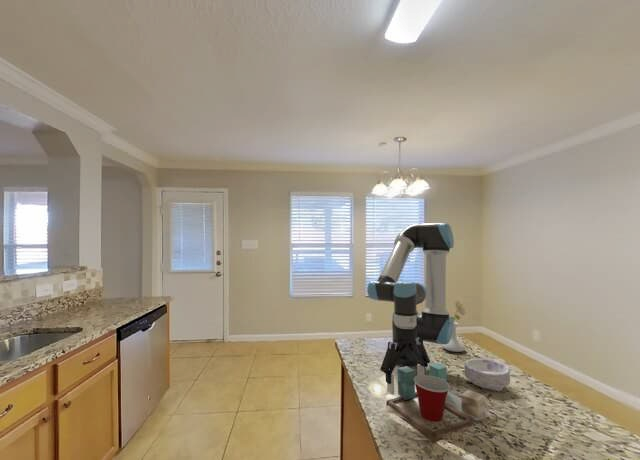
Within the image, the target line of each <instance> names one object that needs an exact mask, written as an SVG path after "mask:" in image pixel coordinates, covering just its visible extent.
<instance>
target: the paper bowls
mask: <svg viewBox="0 0 640 460" xmlns="http://www.w3.org/2000/svg"><path fill="white" fill-rule="evenodd" d="M510 373H511V371H510V368H509V367H508V366H506V364H503V363H501V362H499V361H496V360H491V359H487V358H470V359H467V360H465V362H464V375H465V377H466V379H467V380H469V381H470V382H471V383H472V384H474V385H476V386H477V387H479V388H483V389H487V390H491V391H492V390H493V391H495V392H501V391H502V390H504V388H505V387H508V386H509V385H510V384H511V375H510Z"/></svg>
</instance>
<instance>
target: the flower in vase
mask: <svg viewBox="0 0 640 460" xmlns="http://www.w3.org/2000/svg"><path fill="white" fill-rule="evenodd" d="M454 304H455V308H456V311H455V314H454V317H453V316H450V318H452V319H453V323H454V325H453V333H452V337H451V340H450V342H449V343H448V344H446V345H444V344H441V347H442V348H443V349H445V350H446V351H448V352H453V353H455V352H456V353H459V352H465V350H466V346H465V344H464V343H463V342H462V341H460V339H458V337H457V331H456V329H457V326H458V325H459V322H456V321H455V320H461V317H460V315H461V316H465V314H466V309H465V307H464V306H463V303H461V302H460V301H459V300H456V301H455V302H454ZM457 312H458V313H459V314H460V315H458V314H457Z"/></svg>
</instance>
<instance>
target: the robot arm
mask: <svg viewBox="0 0 640 460" xmlns="http://www.w3.org/2000/svg"><path fill="white" fill-rule="evenodd" d="M454 239H455V238H454V234H453V230H452V227H451V225H450V224H448V223H447V222H431V223H430V222H429V223H428V222H427V223H414V224H411V225H409V226H407V227H405V228H404V229H402V231H400V232H399V233H398V234H397V236H396V238H395V240H394V243H393V244H394V246H393V249H392V251H391V252H390V254H389V256H388V259H387V260H386V263H385V265H384V267H383V269H382V271H381V273H380V275H379V277H378V279H377V280H371V281H369V283H368V285H367V289H366V291H367V295H368V298H369V299H371V300H374V301H379V302H380V301H383V302H391V303H392V302H393V303H394V305H393V306H394V307H393V309H394V310H393V313H392V319H391V321H392V324H391V325H392V327H391V328H392V342H391V341H388V342H387V349H386V352H385V355H384V357H383V360H382V363H381V366H380V371H381V372H382V373H384V374H385V383H386V386H387V387H386V390H387V392H388V393H389V394H391V395H395V374H394V373H393V372H394V370H395V368H396V367H397V365H399V366H404V367H405V366H407V367H414V366H416V367H417V368H416V369H417V372H416V373H417V375H416V376H418V375H426V368H427V367H428V366H429V364H430V363H431V360H430V357H429V355H428V352H427V349H426V348H425V346H424V342H428V343H433V344H436V345H442V344H444V345H446V344H448V343H449V342H450V340H451V337H452V333H453V325H454V323H453V319H452V318H451V317H450V313H449V312H448V310H447V309H446V306H447V305H446V302H447V301H446V297H447V296H446V295H447V294H446V293H447V291H446V290H447V289H446V288H447V286H446V285H447V284H446V283H447V273H446V272H447V255H448V254H449V253H450V249H452V248H453V249H454V244H455V243H454V242H455V241H454ZM417 248H418V249H419V248H420V249H421V248H422V252H423V253H424V254H425V286H424V284H421V283H419V282H414V281H410V280H399V279H400V277H401V274H402V272H403V269H404V267H405V265H406V263H407V261H408V258H409V255H410V254H411V253H412V252H414V250H415V249H417ZM424 301H425V304H424V305H425V306H424V308H423V309H422V310H421V313H419V312H418V310H417V305H419V304H422V303H423V302H424Z"/></svg>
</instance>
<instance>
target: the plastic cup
mask: <svg viewBox="0 0 640 460" xmlns="http://www.w3.org/2000/svg"><path fill="white" fill-rule="evenodd" d="M414 382H415V391H416V392H417V395H418V396H417V400H418V406H419V410H420V411H419V412H420V415H421V417H422V418H423V419H424V420H426V421H428V422H434V423H435V422H441V421H442V420H443V416H444V413H445V412H444V411H445V408H444V407H445V403H446V402H445V401H446V396H447V393H448V391H449V392H450V389H451V385H450V384H449V382H446V381H444V380H442V379H440V378H438V377H434V376H430V374H429V375H428V374H425V375H418V376H417V375H415V377H414Z"/></svg>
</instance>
